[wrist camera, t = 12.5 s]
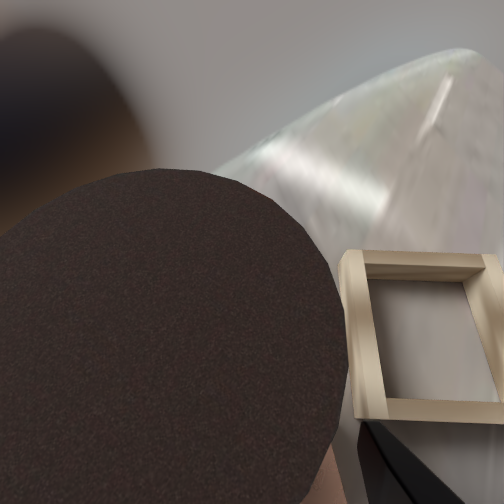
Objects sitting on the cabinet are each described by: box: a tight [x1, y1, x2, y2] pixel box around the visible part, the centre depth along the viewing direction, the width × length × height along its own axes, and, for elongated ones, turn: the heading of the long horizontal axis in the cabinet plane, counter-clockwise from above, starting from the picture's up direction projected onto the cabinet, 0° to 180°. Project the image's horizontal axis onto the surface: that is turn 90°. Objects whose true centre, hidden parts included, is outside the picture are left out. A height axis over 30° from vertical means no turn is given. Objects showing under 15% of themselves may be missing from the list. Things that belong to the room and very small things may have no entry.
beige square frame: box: [338, 249, 504, 424], centre depth 19 cm, size 10×10×2 cm
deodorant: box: [0, 168, 349, 504], centre depth 11 cm, size 6×6×15 cm
